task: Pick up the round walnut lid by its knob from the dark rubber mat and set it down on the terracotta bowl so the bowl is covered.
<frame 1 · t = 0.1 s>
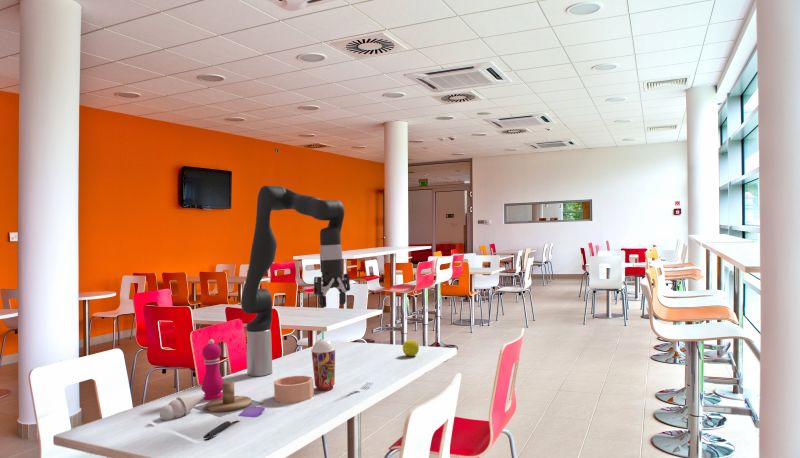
hand: (333, 305, 195), 29 cm above the table, fingers open, 8 cm apart
fork: (349, 396, 189), on the table
tennis ball: (411, 356, 246), on the table
pepper mill: (213, 399, 191), on the table
bowl: (294, 398, 187), on the table
ice cream cone: (183, 416, 174), on the table
smoothie: (325, 389, 198), on the table
lid: (228, 405, 181), point 1 cm above the table, touching mat
spatula: (232, 428, 163), on the table
mat: (228, 407, 181), on the table
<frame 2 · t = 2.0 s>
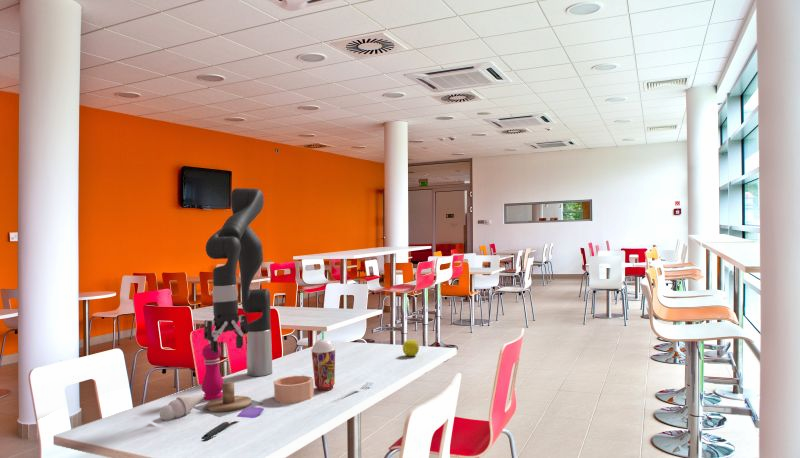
hand: (227, 350, 181), 18 cm above the table, fingers open, 8 cm apart
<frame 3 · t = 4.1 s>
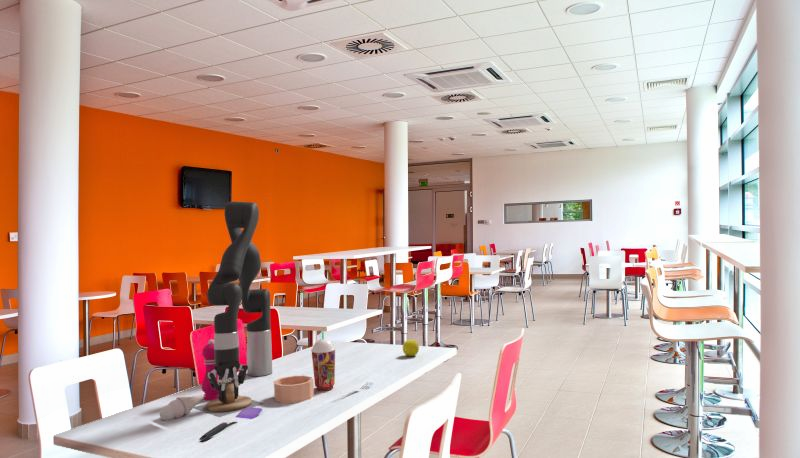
hand: (228, 400, 181), 2 cm above the table, fingers closed on lid, 3 cm apart
lid: (229, 405, 181), point 1 cm above the table, touching gripper, mat
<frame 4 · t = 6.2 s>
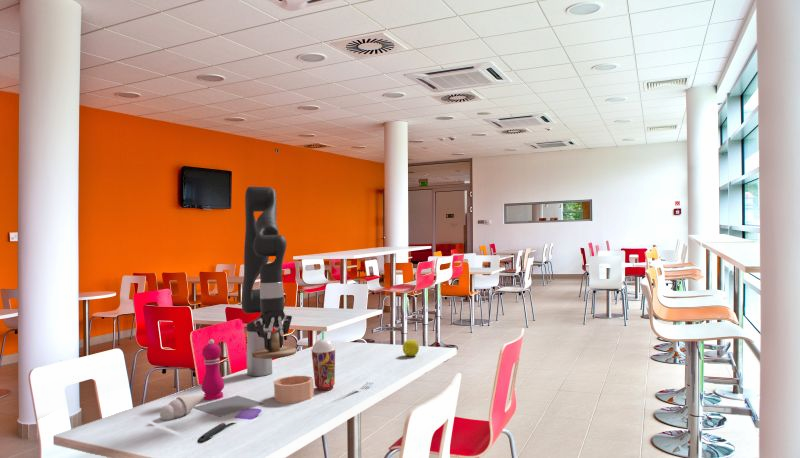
hand: (274, 348, 186), 17 cm above the table, fingers closed on lid, 3 cm apart
lid: (274, 353, 186), point 15 cm above the table, touching gripper
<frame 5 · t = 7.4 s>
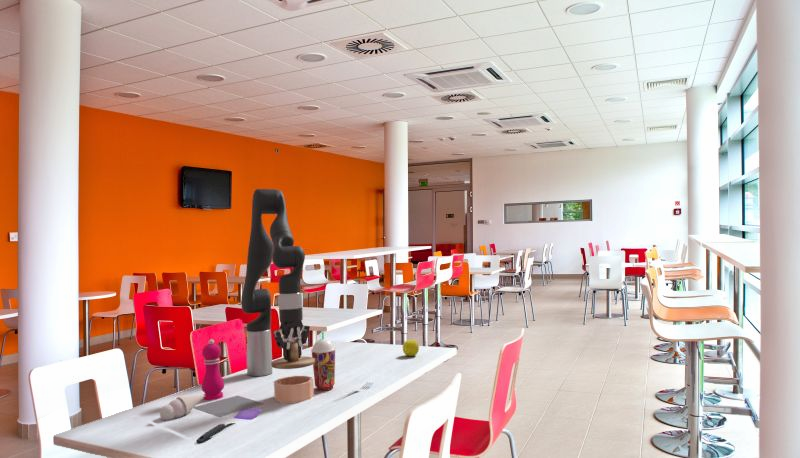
hand: (292, 358, 188), 13 cm above the table, fingers closed on lid, 3 cm apart
lid: (293, 364, 187), point 11 cm above the table, touching gripper
when the fingers open (9 cm above the table, at t = 8.5 s): lid stays where it is, resting on bowl.
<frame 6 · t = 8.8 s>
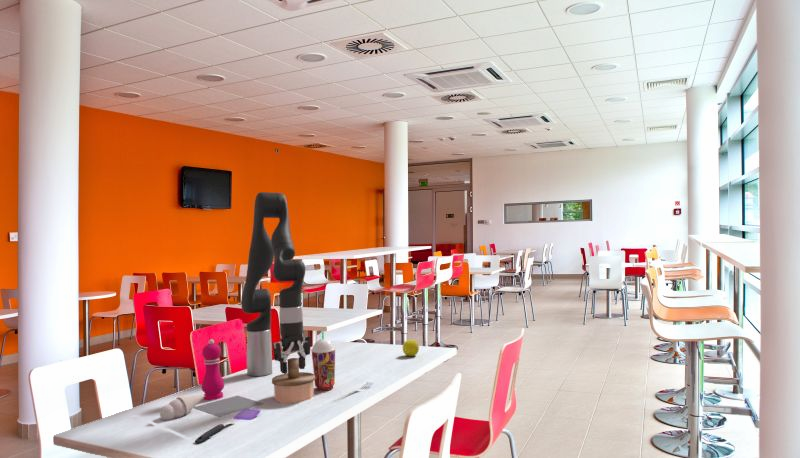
hand: (293, 370, 188), 9 cm above the table, fingers open, 6 cm apart
lid: (293, 380, 187), point 6 cm above the table, touching bowl
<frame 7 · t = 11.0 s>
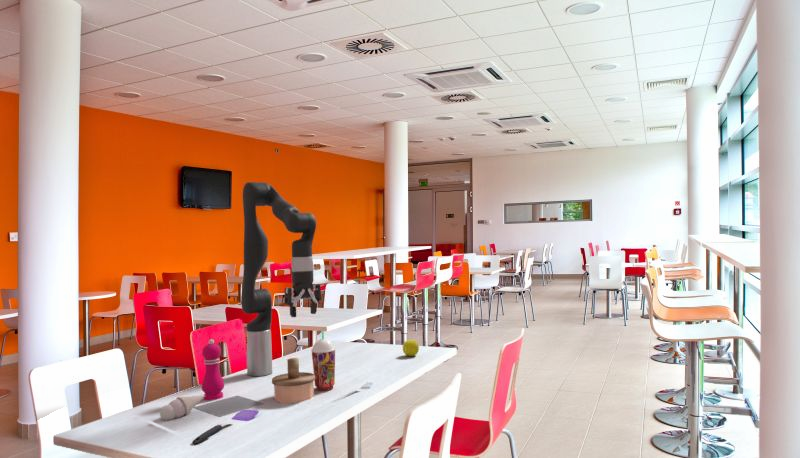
hand: (303, 315, 201), 25 cm above the table, fingers open, 8 cm apart
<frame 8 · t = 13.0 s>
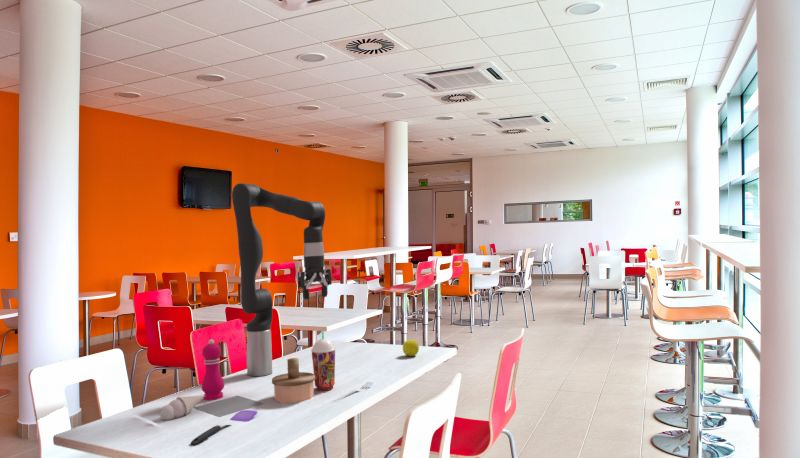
hand: (315, 298, 213), 30 cm above the table, fingers open, 8 cm apart
at the end: lid 0.1 cm off-centre on the bowl, point 6.0 cm above the bowl's base; lid tilted 0°; the gripper is holding nothing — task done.
